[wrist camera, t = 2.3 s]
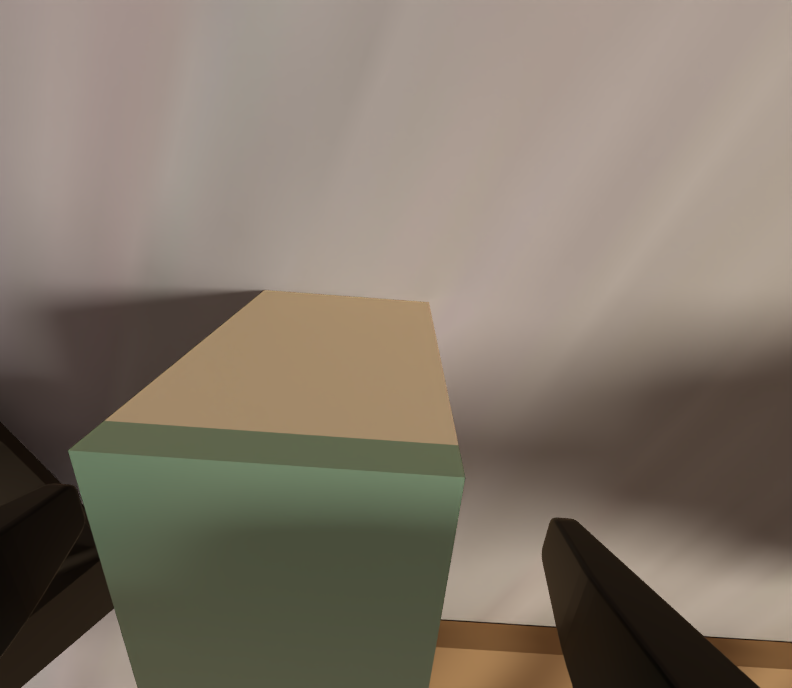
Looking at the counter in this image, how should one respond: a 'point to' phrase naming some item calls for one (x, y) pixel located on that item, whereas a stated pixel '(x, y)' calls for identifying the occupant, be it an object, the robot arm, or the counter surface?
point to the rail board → (544, 663)
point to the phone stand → (70, 588)
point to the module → (282, 500)
